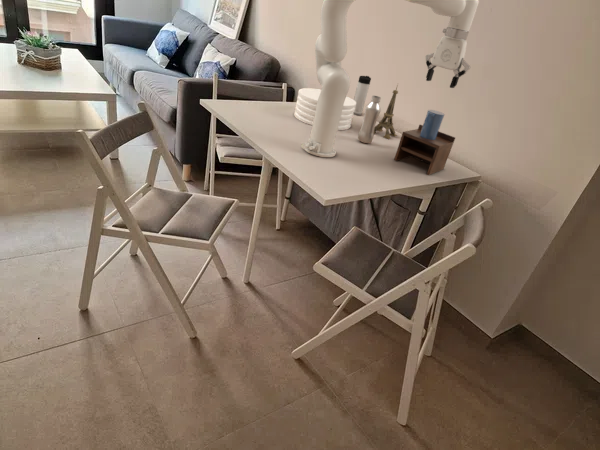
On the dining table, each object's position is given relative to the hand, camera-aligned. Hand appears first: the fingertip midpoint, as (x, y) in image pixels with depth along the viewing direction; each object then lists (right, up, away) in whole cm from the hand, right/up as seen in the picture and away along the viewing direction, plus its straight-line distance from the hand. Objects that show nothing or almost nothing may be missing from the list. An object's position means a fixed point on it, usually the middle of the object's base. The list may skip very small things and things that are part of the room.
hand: (440, 84), depth 157 cm
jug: (-2, -18, +9) cm, 20 cm away
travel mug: (-22, +8, +73) cm, 77 cm away
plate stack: (-42, -2, +47) cm, 63 cm away
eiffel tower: (-12, -9, +47) cm, 49 cm away
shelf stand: (-4, -28, +15) cm, 32 cm away
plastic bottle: (-24, -16, +28) cm, 41 cm away
